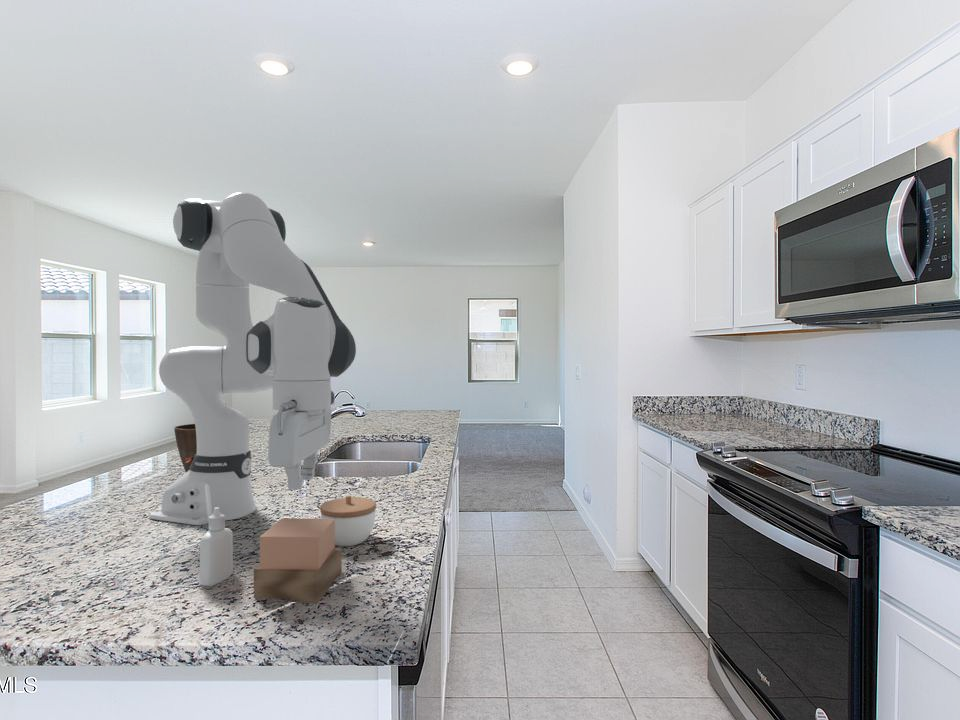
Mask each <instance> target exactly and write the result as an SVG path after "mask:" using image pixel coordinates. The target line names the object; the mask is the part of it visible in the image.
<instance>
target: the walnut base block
mask: <svg viewBox="0 0 960 720" xmlns="http://www.w3.org/2000/svg"><path fill="white" fill-rule="evenodd" d="M341 573H342V548H337V547H335V549H334V550H333V551H332V553H331V554H330V555H329V557H328V558H327V559H326V561H325V562H324V563H323V565H322V566H321V567H320V569H319V570H289V569H260V564H258V565H257V566H255V567H254V569H253V598H254V599H255V598H257V599H272V600H273V599H275V600H292V601H290V602H291V603H302V604H303V603H305V604H317V603H319V601H320V600H321V599H322V598H323V597H324V596H325V594H326V593H327V592H328V591H329V590H330V589H331V588H332V586H333V585H334V584H335V580H336V579H337V578H338V576H340V574H341Z"/></svg>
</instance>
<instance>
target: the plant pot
mask: <svg viewBox="0 0 960 720" xmlns="http://www.w3.org/2000/svg"><path fill="white" fill-rule="evenodd" d="M173 430H174V437H175V441H176V446H177V451H178V454H179V457H180V461H181V463H182V467H183V469H184V471H185V473H186V472H188V471H189V470H190V469H189V468H190V466H191V463H192V462H190V463H185V462H187V461H189V459H187V460H185V459H186V458H190V457H192V456H193V455H195V454H197V438H196V427H195V423H189V424H188V423H187V424H182V425H181V424H180V425H176V426H174V427H173Z"/></svg>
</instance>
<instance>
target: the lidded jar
mask: <svg viewBox="0 0 960 720" xmlns="http://www.w3.org/2000/svg"><path fill="white" fill-rule="evenodd" d="M376 508H377V502H376V501H375V500H373V499H370V498H367V497H357V496H353V497H352V495H345V497H342V498H341V497H339V498H335V499H331V500H327V501H325V502H324V503H322V504H321V505H320V519H335V547H336V546H337V547H353V546H357V545H360V544H362V543H364V542H365V541H366V540H367V539H368V538H369V537H370V536H371V533H372V531H373V529H374V526H375V523H376V522H375V520H376Z"/></svg>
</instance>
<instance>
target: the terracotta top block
mask: <svg viewBox="0 0 960 720" xmlns="http://www.w3.org/2000/svg"><path fill="white" fill-rule="evenodd" d="M335 548H336V545H335V519H321V518H299V517H298V518H297V517H296V518H284V517H283V518H280V519H279V520H278V521H277V522H276V523H275V524H273V525H272V526H271V527H269V529H267V530H266V531H265V532H264V533H262V534H261V535H260V536H259V565H260V569H289V570H319V569H320V567H321V566H322V565H323V563H324V562H325V561H326V559H327V558H328V557H329V555H330V554H331V553H332V551H333V550H334V549H335Z"/></svg>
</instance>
